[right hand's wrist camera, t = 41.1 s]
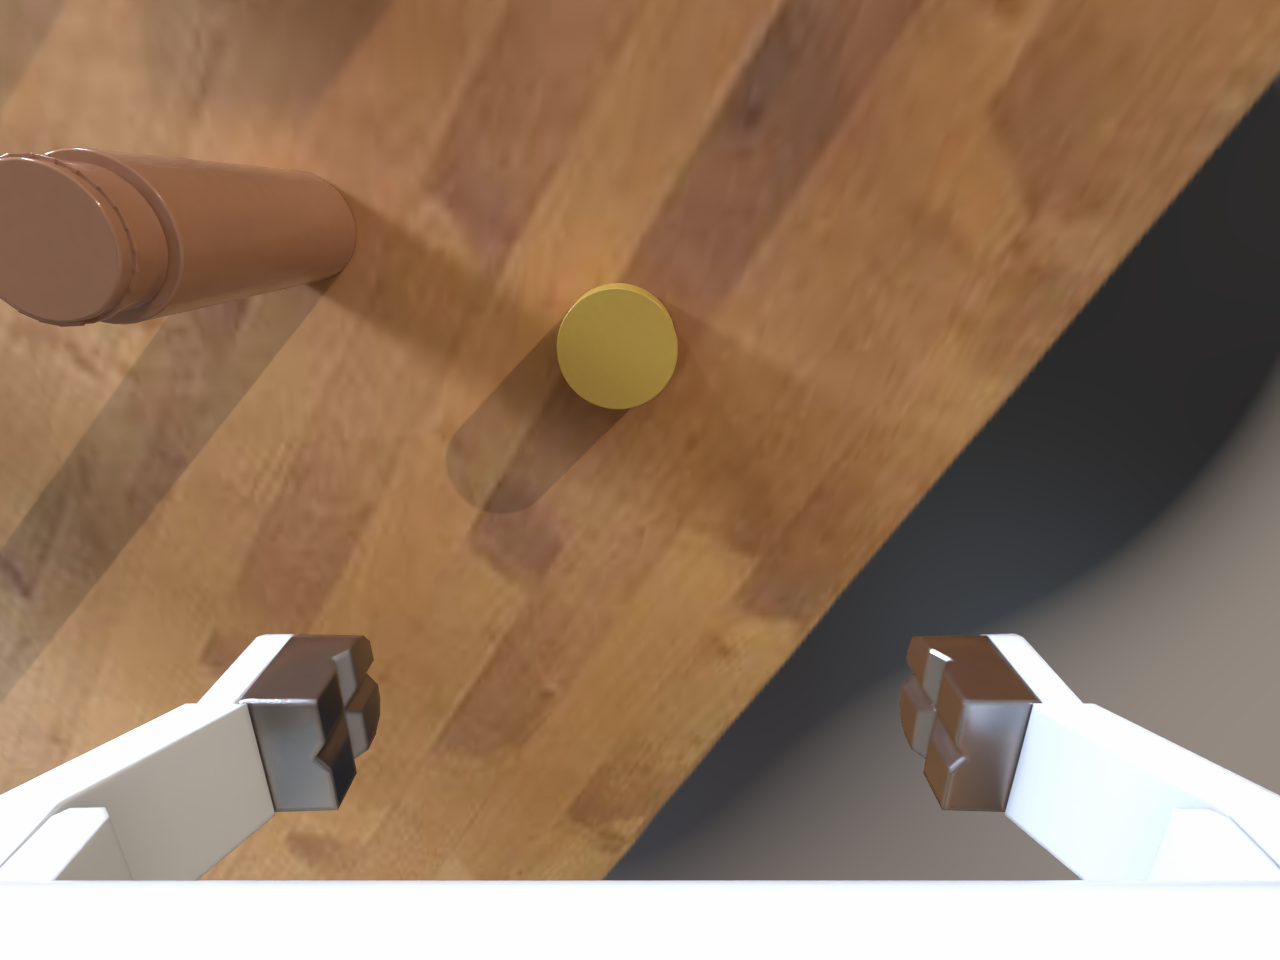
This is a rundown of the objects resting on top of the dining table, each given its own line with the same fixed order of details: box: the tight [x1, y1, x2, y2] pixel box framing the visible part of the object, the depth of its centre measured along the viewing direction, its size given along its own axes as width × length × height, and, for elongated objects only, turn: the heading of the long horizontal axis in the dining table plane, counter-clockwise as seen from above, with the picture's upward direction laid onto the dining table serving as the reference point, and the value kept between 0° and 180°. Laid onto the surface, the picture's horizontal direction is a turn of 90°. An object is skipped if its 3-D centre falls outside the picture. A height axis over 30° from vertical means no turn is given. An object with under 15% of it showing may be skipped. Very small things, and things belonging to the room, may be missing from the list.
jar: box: [0, 148, 356, 327], centre depth 26 cm, size 5×5×16 cm
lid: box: [556, 283, 678, 409], centre depth 34 cm, size 6×6×2 cm
